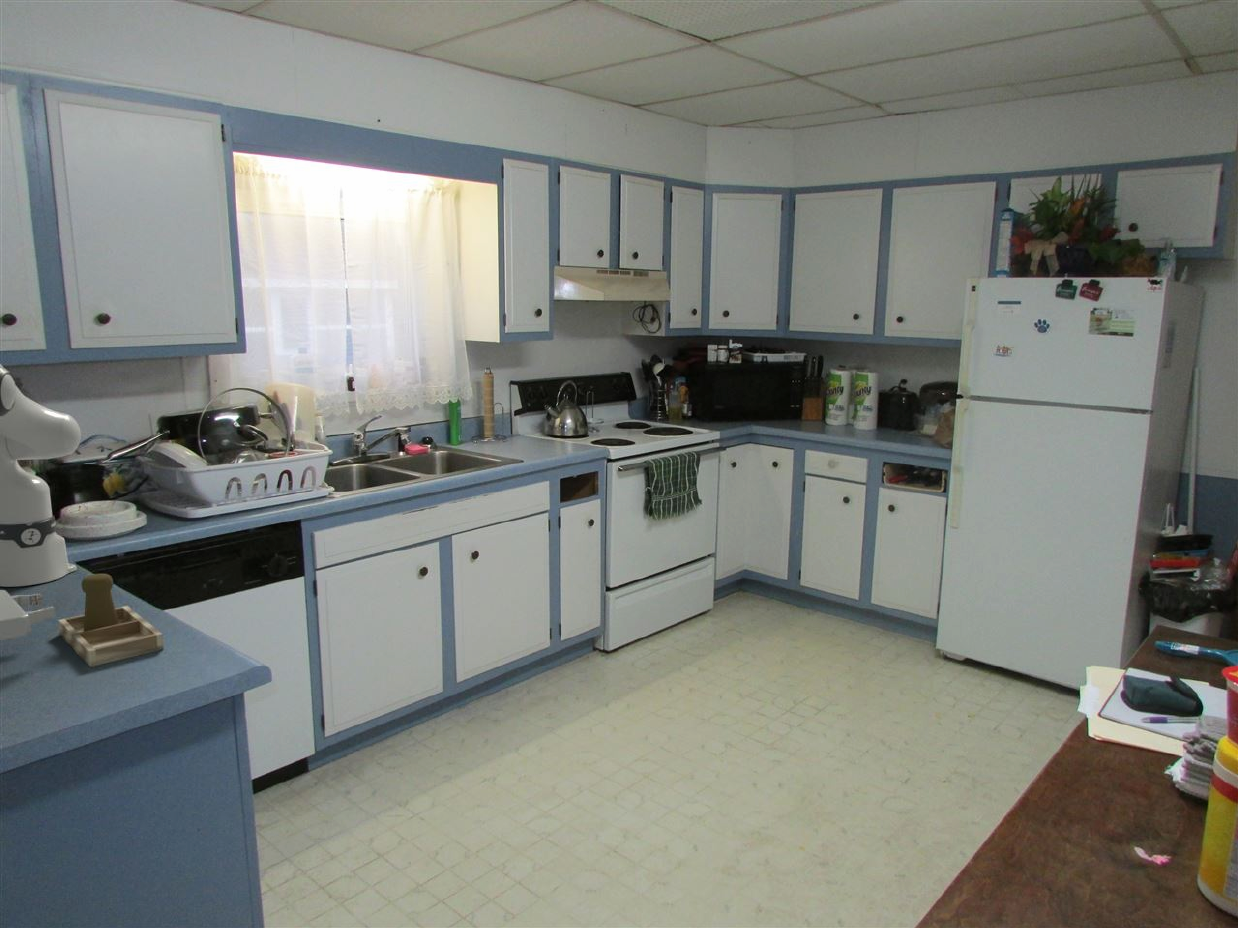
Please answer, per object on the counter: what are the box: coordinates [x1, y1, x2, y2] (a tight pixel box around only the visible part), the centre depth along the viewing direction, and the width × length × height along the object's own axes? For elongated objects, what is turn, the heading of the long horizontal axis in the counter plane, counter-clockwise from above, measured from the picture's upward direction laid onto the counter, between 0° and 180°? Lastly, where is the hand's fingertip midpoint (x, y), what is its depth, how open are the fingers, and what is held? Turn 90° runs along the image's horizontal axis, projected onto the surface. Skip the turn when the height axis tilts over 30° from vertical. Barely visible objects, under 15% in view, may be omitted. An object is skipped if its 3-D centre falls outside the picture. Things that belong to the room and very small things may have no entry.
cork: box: [81, 573, 119, 632], centre depth 164 cm, size 6×6×11 cm
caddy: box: [57, 605, 164, 668], centre depth 161 cm, size 21×12×3 cm, turn 46°
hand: (48, 604), depth 157 cm, fingers open, 8 cm apart
